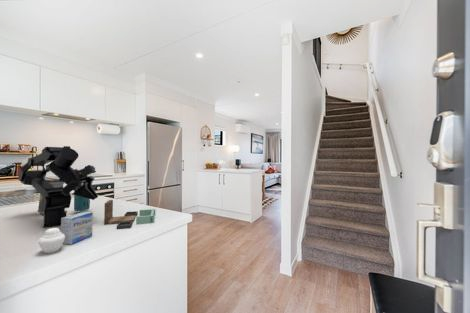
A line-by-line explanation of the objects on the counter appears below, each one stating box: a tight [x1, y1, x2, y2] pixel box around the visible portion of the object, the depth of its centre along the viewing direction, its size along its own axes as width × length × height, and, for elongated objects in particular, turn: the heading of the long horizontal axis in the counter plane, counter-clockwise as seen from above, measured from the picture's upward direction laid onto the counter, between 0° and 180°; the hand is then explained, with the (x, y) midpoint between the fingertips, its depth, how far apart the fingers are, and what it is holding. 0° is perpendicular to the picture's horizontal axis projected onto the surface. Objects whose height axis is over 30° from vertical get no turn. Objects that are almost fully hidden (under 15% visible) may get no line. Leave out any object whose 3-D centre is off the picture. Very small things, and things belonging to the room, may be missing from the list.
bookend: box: [103, 199, 137, 226], centre depth 91 cm, size 11×7×9 cm, turn 108°
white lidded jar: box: [37, 227, 65, 254], centre depth 62 cm, size 6×6×7 cm
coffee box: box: [37, 178, 65, 216], centre depth 101 cm, size 9×6×16 cm
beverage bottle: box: [73, 175, 91, 212], centre depth 102 cm, size 6×7×20 cm
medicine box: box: [60, 211, 94, 246], centre depth 70 cm, size 8×4×9 cm, turn 168°
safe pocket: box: [135, 208, 156, 225], centre depth 94 cm, size 7×12×3 cm, turn 19°
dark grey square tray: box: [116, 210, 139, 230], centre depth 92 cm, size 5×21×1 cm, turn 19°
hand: (96, 198), depth 88 cm, fingers open, 3 cm apart
